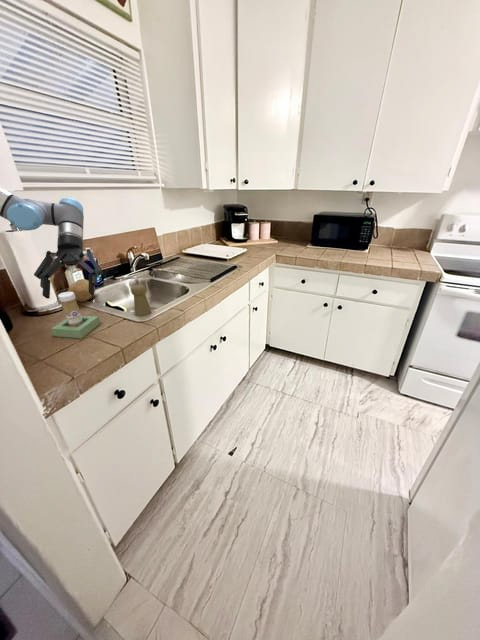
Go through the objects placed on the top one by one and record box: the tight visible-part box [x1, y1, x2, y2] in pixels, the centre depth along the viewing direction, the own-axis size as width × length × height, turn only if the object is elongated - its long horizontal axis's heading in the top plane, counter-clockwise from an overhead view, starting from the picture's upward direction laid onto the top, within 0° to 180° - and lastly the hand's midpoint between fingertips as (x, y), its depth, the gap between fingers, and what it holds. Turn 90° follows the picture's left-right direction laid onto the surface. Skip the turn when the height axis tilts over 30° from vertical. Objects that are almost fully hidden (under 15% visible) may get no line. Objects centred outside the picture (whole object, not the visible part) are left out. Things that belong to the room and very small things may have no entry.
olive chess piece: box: [130, 284, 152, 317], centre depth 99 cm, size 6×6×11 cm
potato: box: [67, 278, 96, 303], centre depth 111 cm, size 10×14×8 cm
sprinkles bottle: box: [57, 291, 83, 327], centre depth 87 cm, size 5×5×14 cm
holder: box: [51, 314, 101, 339], centre depth 89 cm, size 10×10×3 cm
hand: (69, 295), depth 86 cm, fingers open, 13 cm apart
